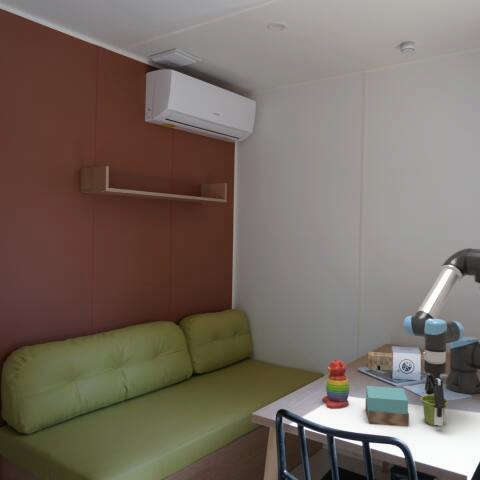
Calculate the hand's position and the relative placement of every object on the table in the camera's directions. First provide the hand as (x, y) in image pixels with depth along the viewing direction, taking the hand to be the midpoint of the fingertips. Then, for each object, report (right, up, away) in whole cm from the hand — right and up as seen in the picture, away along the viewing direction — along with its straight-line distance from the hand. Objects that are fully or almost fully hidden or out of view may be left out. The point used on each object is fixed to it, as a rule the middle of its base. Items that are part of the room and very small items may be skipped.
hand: (433, 418), depth 184 cm
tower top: (-16, +3, +4) cm, 17 cm away
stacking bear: (-33, -1, +19) cm, 38 cm away
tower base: (-17, -2, +4) cm, 17 cm away
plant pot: (0, -2, 0) cm, 2 cm away
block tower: (+9, -1, +70) cm, 70 cm away
